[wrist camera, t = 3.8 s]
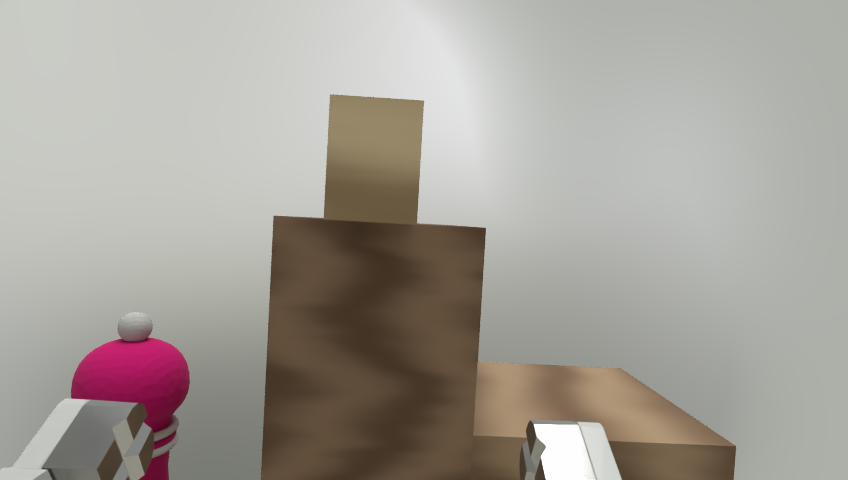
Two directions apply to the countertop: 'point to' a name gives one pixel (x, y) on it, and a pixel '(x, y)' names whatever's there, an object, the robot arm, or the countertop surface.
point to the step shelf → (430, 369)
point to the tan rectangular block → (373, 159)
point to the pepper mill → (139, 382)
